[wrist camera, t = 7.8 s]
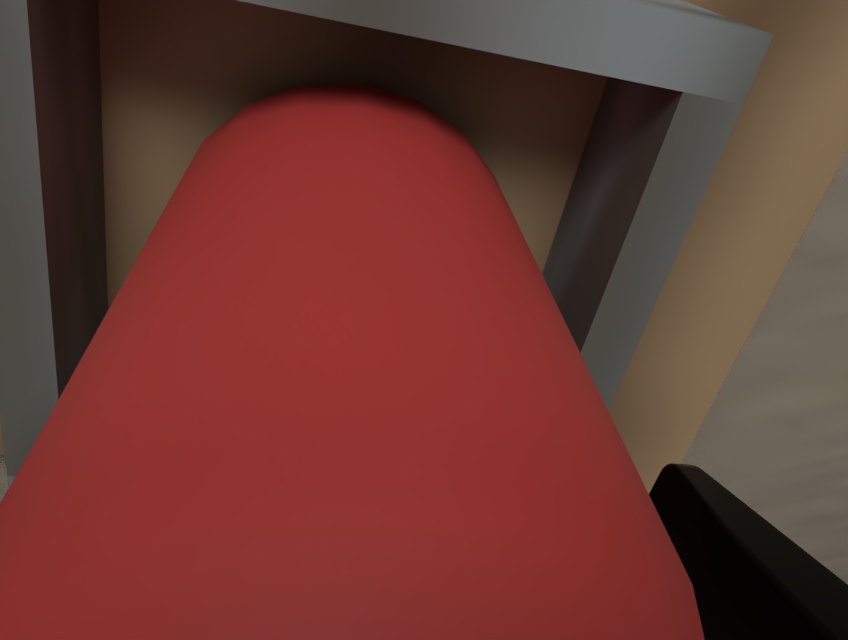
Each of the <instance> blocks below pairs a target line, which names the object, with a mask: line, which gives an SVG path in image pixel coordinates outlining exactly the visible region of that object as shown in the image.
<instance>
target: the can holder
mask: <svg viewBox="0 0 848 640" xmlns="http://www.w3.org/2000/svg"><path fill="white" fill-rule="evenodd" d="M319 84H365V85H368V86H371V87H375V88H378V89H381V90H384V91H388V92H391V93H394V94H398V95H401V96H404V97H407V98H411V99H414V100H417V101H419V102H421V103H422V104H423V105H425V106H426V107H428V108H429V109H430V110H432V111H433V112H435V113H436V114H437V115H439V116H440V117H442V118H443V119H445V120H446V121H447V122H449V123H450V124H452V125H453V126H454V127H456V128H457V129H459V130H460V131H461V132H463V133H464V134H465V135H466V137H467V138H468V140H469V141H470V142H471V144H472V145H473V147H474V148H475V149H476V151H477V152H478V154H479V155H480V156H481V158H482V159H483V161H484V162H485V164H486V165H487V166H488V168H489V169H490V171H491V172H492V173H493V175H494V176H495V178H496V180H497V182H498V184H499V186H500V189H501V191H502V193H503V195H504V197H505V199H506V201H507V203H508V205H509V207H510V209H511V211H512V213H513V215H514V217H515V219H516V222H517V224H518V226H519V228H520V230H521V232H522V234H523V236H524V238H525V240H526V242H527V244H528V246H529V248H530V250H531V252H532V255H533V257H534V259H535V261H536V263H537V265H538V267H539V269H540V271H541V273H542V275H543V277H544V279H545V281H546V283H547V285H548V288H549V290H550V292H551V294H552V296H553V298H554V300H555V302H556V304H557V306H558V308H559V310H560V312H561V314H562V316H563V318H564V321H565V323H566V325H567V327H568V329H569V331H570V333H571V335H572V337H573V339H574V341H575V343H576V345H577V347H578V349H579V351H580V354H581V356H582V358H583V360H584V362H585V364H586V366H587V368H588V370H589V372H590V374H591V376H592V378H593V380H594V382H595V384H596V387H597V389H598V391H599V393H600V395H601V397H602V399H603V401H604V403H605V405H606V407H607V409H608V411H609V413H610V415H611V417H612V420H613V422H614V424H615V426H616V428H617V430H618V432H619V434H620V436H621V438H622V440H623V442H624V444H625V446H626V448H627V450H628V453H629V455H630V457H631V459H632V461H633V463H634V465H635V467H636V469H637V471H638V473H639V475H640V477H641V479H642V481H643V483H644V486H645V488H646V490H647V492H648V494H649V493H650V491H651V489H652V487H653V485H654V483H655V481H656V479H657V477H658V475H659V474H660V472H661V470H662V468H663V467H665V466H666V465H667V464H671V463H676V464H681V462H682V460H683V458H684V456H685V455H686V453H687V451H688V449H689V447H690V445H691V443H692V442H693V440H694V438H695V436H696V434H697V432H698V430H699V428H700V427H701V425H702V423H703V421H704V419H705V417H706V415H707V414H708V412H709V410H710V408H711V406H712V404H713V402H714V400H715V399H716V397H717V395H718V393H719V391H720V389H721V387H722V386H723V384H724V382H725V380H726V378H727V376H728V374H729V373H730V371H731V369H732V367H733V365H734V363H735V361H736V359H737V358H738V356H739V354H740V352H741V350H742V348H743V346H744V345H745V343H746V341H747V339H748V337H749V335H750V333H751V331H752V330H753V328H754V326H755V324H756V322H757V320H758V318H759V317H760V315H761V313H762V311H763V309H764V307H765V305H766V303H767V302H768V300H769V298H770V296H771V294H772V292H773V290H774V289H775V287H776V285H777V283H778V281H779V279H780V277H781V276H782V274H783V272H784V270H785V268H786V266H787V264H788V262H789V261H790V259H791V257H792V255H793V253H794V251H795V249H796V248H797V246H798V244H799V242H800V240H801V238H802V236H803V234H804V233H805V231H806V229H807V227H808V225H809V223H810V221H811V220H812V218H813V216H814V214H815V212H816V210H817V208H818V206H819V205H820V203H821V201H822V199H823V197H824V195H825V193H826V192H827V190H828V188H829V186H830V184H831V182H832V180H833V179H834V177H835V175H836V173H837V171H838V169H839V167H840V165H841V164H842V162H843V160H844V158H845V156H846V154H847V152H848V0H0V455H4V456H5V461H6V468H7V476H8V483H9V488H10V486H11V484H12V482H13V480H14V479H15V477H16V475H17V473H18V471H19V470H20V468H21V466H22V464H23V463H24V461H25V459H26V457H27V455H28V454H29V452H30V450H31V448H32V446H33V445H34V443H35V441H36V439H37V437H38V436H39V434H40V432H41V430H42V428H43V427H44V425H45V423H46V421H47V419H48V418H49V416H50V414H51V412H52V410H53V409H54V407H55V405H56V403H57V401H58V400H59V398H60V396H61V394H62V392H63V391H64V389H65V387H66V385H67V383H68V382H69V380H70V378H71V376H72V374H73V373H74V371H75V369H76V367H77V365H78V364H79V362H80V360H81V358H82V356H83V355H84V353H85V351H86V349H87V347H88V346H89V344H90V342H91V340H92V338H93V337H94V335H95V333H96V331H97V329H98V328H99V326H100V324H101V322H102V320H103V319H104V317H105V315H106V313H107V311H108V310H109V308H110V306H111V304H112V302H113V301H114V299H115V297H116V295H117V293H118V292H119V290H120V288H121V286H122V284H123V283H124V281H125V279H126V277H127V275H128V274H129V272H130V270H131V268H132V266H133V265H134V263H135V261H136V259H137V257H138V256H139V254H140V252H141V250H142V248H143V247H144V245H145V243H146V241H147V239H148V238H149V236H150V234H151V232H152V230H153V229H154V227H155V225H156V223H157V221H158V220H159V218H160V216H161V214H162V212H163V211H164V209H165V207H166V205H167V203H168V202H169V200H170V198H171V196H172V194H173V193H174V191H175V189H176V187H177V186H178V184H179V182H180V180H181V179H182V177H183V175H184V173H185V172H186V170H187V168H188V166H189V165H190V163H191V161H192V159H193V158H194V156H195V154H196V152H197V151H198V149H199V147H200V145H201V144H202V142H203V140H205V139H206V138H207V137H208V136H209V135H211V134H212V133H213V132H214V131H215V130H217V129H218V128H219V127H220V126H221V125H223V124H224V123H225V122H226V121H228V120H229V119H230V118H231V117H232V116H234V115H235V114H236V113H237V112H238V111H240V110H241V109H242V108H243V107H244V106H246V105H248V104H250V103H253V102H256V101H259V100H261V99H264V98H267V97H270V96H272V95H275V94H278V93H281V92H283V91H286V90H289V89H292V88H294V87H297V86H300V85H319Z"/></svg>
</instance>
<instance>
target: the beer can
mask: <svg viewBox="0 0 848 640" xmlns="http://www.w3.org/2000/svg"><path fill="white" fill-rule="evenodd" d="M0 640H705V639H704V634H703V630H702V625H701V621H700V616H699V612H698V607H697V603H696V598H695V594H694V589H693V585H692V582H691V580H690V578H689V576H688V574H687V572H686V570H685V568H684V566H683V564H682V562H681V560H680V558H679V556H678V554H677V552H676V549H675V547H674V545H673V543H672V541H671V539H670V537H669V535H668V533H667V531H666V529H665V527H664V525H663V523H662V521H661V519H660V516H659V514H658V512H657V510H656V508H655V506H654V504H653V502H652V500H651V498H650V496H649V494H648V492H647V490H646V488H645V486H644V483H643V481H642V479H641V477H640V475H639V473H638V471H637V469H636V467H635V465H634V463H633V461H632V459H631V457H630V455H629V453H628V450H627V448H626V446H625V444H624V442H623V440H622V438H621V436H620V434H619V432H618V430H617V428H616V426H615V424H614V422H613V420H612V417H611V415H610V413H609V411H608V409H607V407H606V405H605V403H604V401H603V399H602V397H601V395H600V393H599V391H598V389H597V387H596V384H595V382H594V380H593V378H592V376H591V374H590V372H589V370H588V368H587V366H586V364H585V362H584V360H583V358H582V356H581V354H580V351H579V349H578V347H577V345H576V343H575V341H574V339H573V337H572V335H571V333H570V331H569V329H568V327H567V325H566V323H565V321H564V318H563V316H562V314H561V312H560V310H559V308H558V306H557V304H556V302H555V300H554V298H553V296H552V294H551V292H550V290H549V288H548V285H547V283H546V281H545V279H544V277H543V275H542V273H541V271H540V269H539V267H538V265H537V263H536V261H535V259H534V257H533V255H532V252H531V250H530V248H529V246H528V244H527V242H526V240H525V238H524V236H523V234H522V232H521V230H520V228H519V226H518V224H517V222H516V219H515V217H514V215H513V213H512V211H511V209H510V207H509V205H508V203H507V201H506V199H505V197H504V195H503V193H502V191H501V189H500V186H499V184H498V182H497V180H496V178H495V176H494V175H493V173H492V172H491V171H490V169H489V168H488V166H487V165H486V164H485V162H484V161H483V159H482V158H481V156H480V155H479V154H478V152H477V151H476V149H475V148H474V147H473V145H472V144H471V142H470V141H469V140H468V138H467V137H466V135H465V134H464V133H463V132H461V131H460V130H459V129H457V128H456V127H454V126H453V125H452V124H450V123H449V122H447V121H446V120H445V119H443V118H442V117H440V116H439V115H437V114H436V113H435V112H433V111H432V110H430V109H429V108H428V107H426V106H425V105H423V104H422V103H421V102H419V101H417V100H414V99H411V98H407V97H404V96H401V95H398V94H394V93H391V92H388V91H384V90H381V89H378V88H375V87H371V86H368V85H365V84H319V85H300V86H297V87H294V88H292V89H289V90H286V91H283V92H281V93H278V94H275V95H272V96H270V97H267V98H264V99H261V100H259V101H256V102H253V103H250V104H248V105H246V106H244V107H243V108H242V109H241V110H240V111H238V112H237V113H236V114H235V115H234V116H232V117H231V118H230V119H229V120H228V121H226V122H225V123H224V124H223V125H221V126H220V127H219V128H218V129H217V130H215V131H214V132H213V133H212V134H211V135H209V136H208V137H207V138H206V139H205V140H203V142H202V144H201V145H200V147H199V149H198V151H197V152H196V154H195V156H194V158H193V159H192V161H191V163H190V165H189V166H188V168H187V170H186V172H185V173H184V175H183V177H182V179H181V180H180V182H179V184H178V186H177V187H176V189H175V191H174V193H173V194H172V196H171V198H170V200H169V202H168V203H167V205H166V207H165V209H164V211H163V212H162V214H161V216H160V218H159V220H158V221H157V223H156V225H155V227H154V229H153V230H152V232H151V234H150V236H149V238H148V239H147V241H146V243H145V245H144V247H143V248H142V250H141V252H140V254H139V256H138V257H137V259H136V261H135V263H134V265H133V266H132V268H131V270H130V272H129V274H128V275H127V277H126V279H125V281H124V283H123V284H122V286H121V288H120V290H119V292H118V293H117V295H116V297H115V299H114V301H113V302H112V304H111V306H110V308H109V310H108V311H107V313H106V315H105V317H104V319H103V320H102V322H101V324H100V326H99V328H98V329H97V331H96V333H95V335H94V337H93V338H92V340H91V342H90V344H89V346H88V347H87V349H86V351H85V353H84V355H83V356H82V358H81V360H80V362H79V364H78V365H77V367H76V369H75V371H74V373H73V374H72V376H71V378H70V380H69V382H68V383H67V385H66V387H65V389H64V391H63V392H62V394H61V396H60V398H59V400H58V401H57V403H56V405H55V407H54V409H53V410H52V412H51V414H50V416H49V418H48V419H47V421H46V423H45V425H44V427H43V428H42V430H41V432H40V434H39V436H38V437H37V439H36V441H35V443H34V445H33V446H32V448H31V450H30V452H29V454H28V455H27V457H26V459H25V461H24V463H23V464H22V466H21V468H20V470H19V471H18V473H17V475H16V477H15V479H14V480H13V482H12V484H11V486H10V488H9V489H8V491H7V493H6V495H5V497H4V498H3V500H2V502H1V504H0Z"/></svg>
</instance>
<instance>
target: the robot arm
mask: <svg viewBox="0 0 848 640" xmlns="http://www.w3.org/2000/svg"><path fill="white" fill-rule="evenodd" d="M649 496H650V498H651V500H652V502H653V504H654V506H655V508H656V510H657V512H658V514H659V516H660V519H661V521H662V523H663V525H664V527H665V529H666V531H667V533H668V535H669V537H670V539H671V541H672V543H673V545H674V547H675V549H676V552H677V554H678V556H679V558H680V560H681V562H682V564H683V566H684V568H685V570H686V572H687V574H688V576H689V578H690V580H691V582H692V585H693V589H694V594H695V598H696V603H697V607H698V612H699V616H700V621H701V625H702V630H703V634H704V639H705V640H848V585H847V584H846V583H845V582H844V581H842V580H841V579H840V578H839V577H837V576H836V575H835V574H833V573H832V572H831V571H830V570H828V569H827V568H826V567H825V566H823V565H822V564H821V563H820V562H818V561H817V560H816V559H814V558H813V557H812V556H811V555H809V554H808V553H807V552H806V551H804V550H803V549H802V548H801V547H799V546H798V545H797V544H795V543H794V542H793V541H792V540H790V539H789V538H788V537H787V536H785V535H784V534H783V533H781V532H780V531H779V530H778V529H776V528H775V527H774V526H773V525H771V524H770V523H769V522H768V521H766V520H765V519H764V518H762V517H761V516H760V515H759V514H757V513H756V512H755V511H754V510H752V509H751V508H750V507H749V506H747V505H746V504H745V503H743V502H742V501H741V500H740V499H738V498H737V497H736V496H735V495H733V494H732V493H731V492H730V491H728V490H727V489H726V488H724V487H723V486H722V485H721V484H719V483H718V482H717V481H716V480H714V479H713V478H712V477H711V476H709V475H708V474H707V473H705V472H704V471H703V470H702V469H700V468H699V467H697V466H694V465H686V464H676V463H671V464H667V465H666V466H665V467H663V468H662V470H661V472H660V474H659V475H658V477H657V479H656V481H655V483H654V485H653V487H652V489H651V491H650V493H649Z"/></svg>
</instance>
